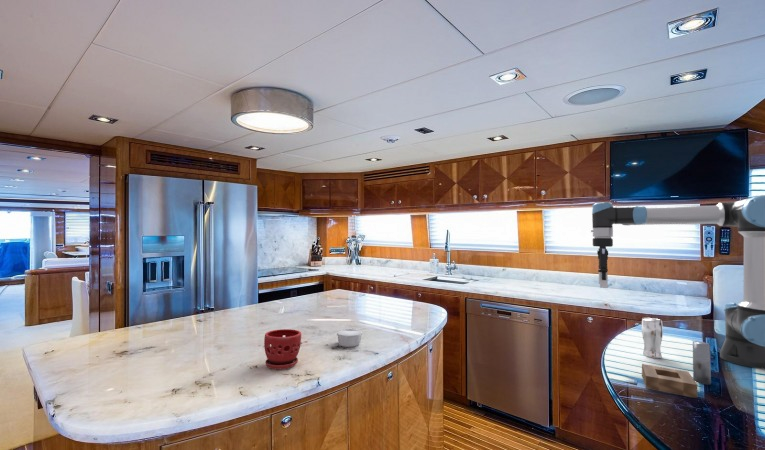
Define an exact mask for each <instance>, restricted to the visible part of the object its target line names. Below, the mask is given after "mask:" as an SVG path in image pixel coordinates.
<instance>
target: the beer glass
mask: <svg viewBox="0 0 765 450" xmlns="http://www.w3.org/2000/svg"><path fill="white" fill-rule="evenodd" d="M663 326H664V325H663V320H662V319H658V318H654V317H652V318H651V317H642V318H641V334H642V340H643V346H644V347H643V353H642V354H643V356H645V357H647V358H651V359H662V356H663V355H662V352H661V346H662V340H663V334H664V329H663V328H664V327H663Z"/></svg>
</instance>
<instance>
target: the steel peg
mask: <svg viewBox="0 0 765 450" xmlns="http://www.w3.org/2000/svg"><path fill="white" fill-rule="evenodd" d="M711 368H712V367H711V343H708V342H704V341H697V340H693V341H692V372H693V373H692V378H693V379H694V381H696V383H697V382H698V383H697V384H702V385H708V386H709V385H712V384H711V383H712V380H711V379H712V378H711V377H712V375H711V371H712V369H711Z"/></svg>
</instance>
